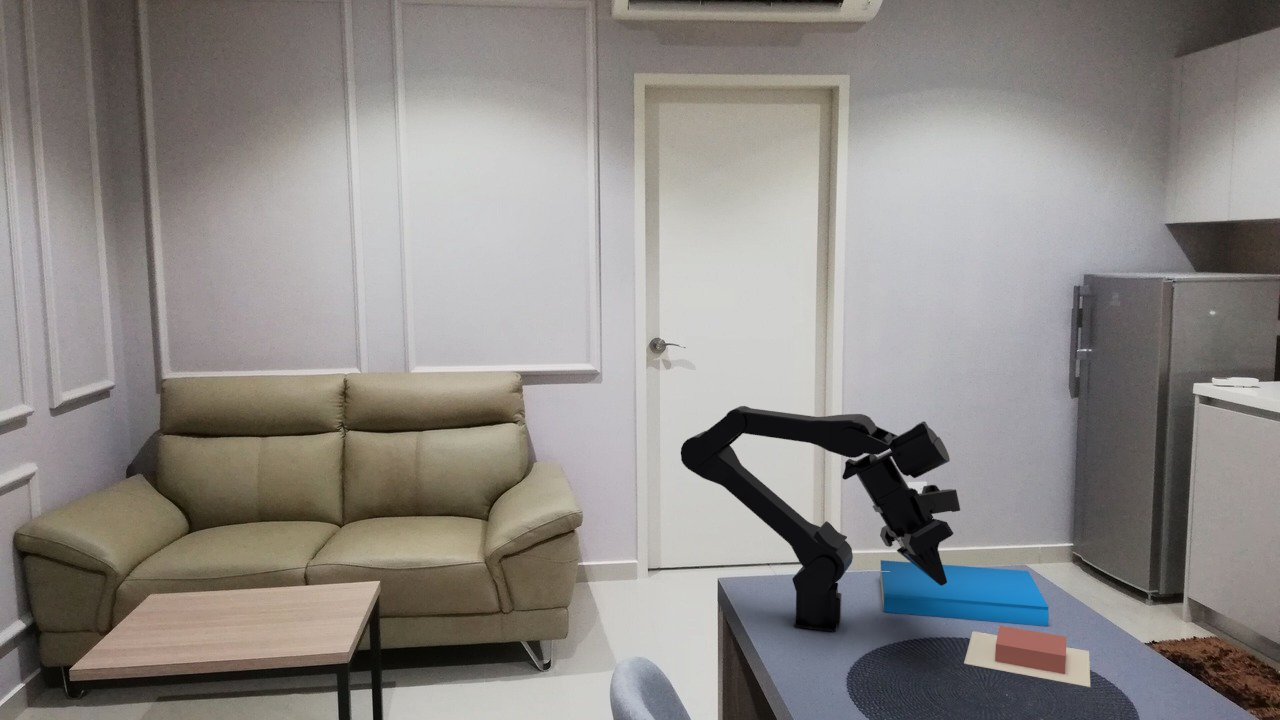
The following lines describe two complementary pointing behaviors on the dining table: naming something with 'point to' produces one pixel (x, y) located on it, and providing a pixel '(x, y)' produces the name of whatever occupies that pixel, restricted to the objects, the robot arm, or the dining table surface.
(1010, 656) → the card box
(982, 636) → the mat
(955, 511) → the robot arm
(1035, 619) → the book
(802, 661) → the dining table surface
